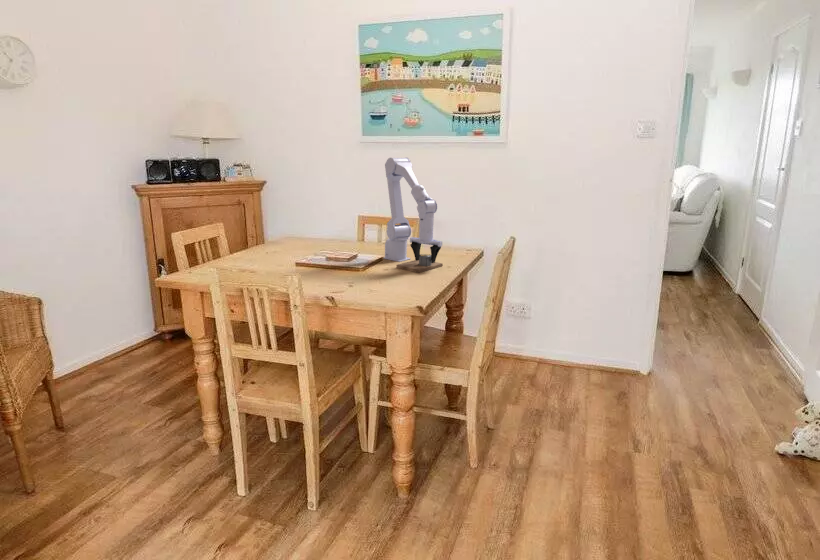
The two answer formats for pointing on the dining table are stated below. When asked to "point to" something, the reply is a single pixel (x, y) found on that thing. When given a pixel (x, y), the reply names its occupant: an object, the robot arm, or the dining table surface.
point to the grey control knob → (425, 260)
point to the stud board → (418, 266)
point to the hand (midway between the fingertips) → (425, 261)
